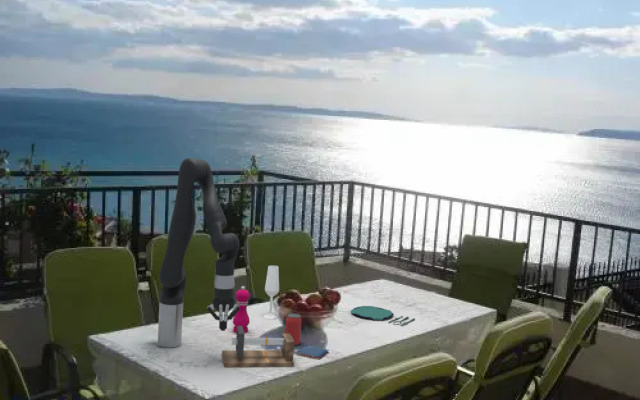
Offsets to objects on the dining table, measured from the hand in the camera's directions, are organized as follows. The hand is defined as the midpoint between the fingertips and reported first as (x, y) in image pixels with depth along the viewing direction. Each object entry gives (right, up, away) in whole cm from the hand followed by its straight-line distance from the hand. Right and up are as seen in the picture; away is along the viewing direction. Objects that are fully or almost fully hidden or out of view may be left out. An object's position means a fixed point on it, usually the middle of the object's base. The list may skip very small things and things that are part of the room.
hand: (222, 330), depth 261 cm
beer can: (+25, -10, +24) cm, 37 cm away
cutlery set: (+67, -8, +73) cm, 99 cm away
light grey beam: (+13, -5, 0) cm, 15 cm away
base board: (+13, -12, +1) cm, 18 cm away
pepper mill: (+3, -7, +35) cm, 36 cm away
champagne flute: (+14, -5, +60) cm, 62 cm away
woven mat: (+34, -13, +13) cm, 38 cm away
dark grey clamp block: (+6, -8, -1) cm, 11 cm away
